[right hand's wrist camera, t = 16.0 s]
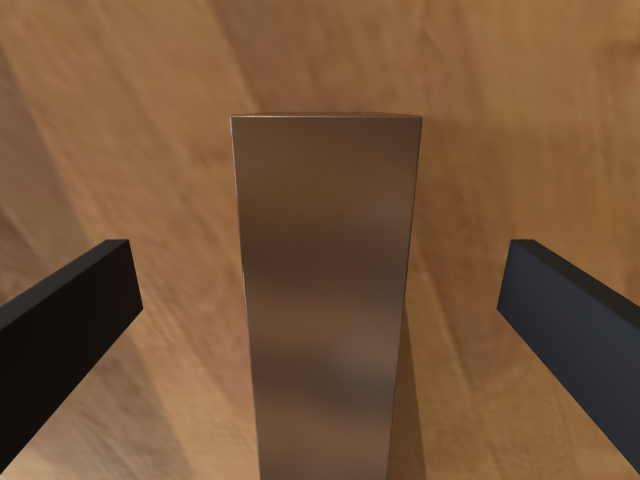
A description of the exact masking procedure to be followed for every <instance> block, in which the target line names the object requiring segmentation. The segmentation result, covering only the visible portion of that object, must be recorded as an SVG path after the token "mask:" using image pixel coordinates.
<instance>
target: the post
mask: <svg viewBox="0 0 640 480" xmlns="http://www.w3.org/2000/svg"><path fill="white" fill-rule="evenodd" d="M230 128H231V140H232V152H233V164H234V176H235V188H236V200H237V212H238V224H239V236H240V248H241V260H242V272H243V284H244V296H245V308H246V320H247V332H248V344H249V356H250V368H251V380H252V392H253V404H254V416H255V428H256V440H257V452H258V464H259V476H260V480H387V471H388V461H389V451H390V441H391V431H392V421H393V411H394V401H395V390H396V380H397V370H398V360H399V350H400V340H401V330H402V320H403V310H404V299H405V289H406V279H407V269H408V259H409V249H410V239H411V229H412V219H413V208H414V198H415V188H416V178H417V168H418V158H419V148H420V138H421V128H422V116H419V115H406V114H394V113H353V112H266V113H253V114H240V115H231V116H230Z"/></svg>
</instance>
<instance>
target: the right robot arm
mask: <svg viewBox="0 0 640 480" xmlns="http://www.w3.org/2000/svg"><path fill="white" fill-rule="evenodd" d="M142 310H143V305H142V300H141V295H140V290H139V286H138V281H137V276H136V271H135V267H134V262H133V257H132V252H131V248H130V243H129V240H105V241H103V242H102V243H100V244H99V245H97V246H95V247H94V248H92V249H91V250H89V251H88V252H86V253H84V254H83V255H81V256H80V257H78V258H77V259H75V260H73V261H72V262H70V263H69V264H67V265H66V266H64V267H62V268H61V269H59V270H58V271H56V272H55V273H53V274H51V275H50V276H48V277H47V278H45V279H44V280H42V281H40V282H39V283H37V284H36V285H34V286H33V287H31V288H29V289H28V290H26V291H25V292H23V293H21V294H20V295H18V296H17V297H15V298H14V299H12V300H10V301H9V302H7V303H6V304H4V305H3V306H1V307H0V474H1V473H2V472H3V471H4V470H5V469H6V467H7V466H8V465H9V464H10V463H11V462H12V461H13V459H14V458H15V457H16V456H17V455H18V454H19V452H20V451H21V450H22V449H23V448H24V447H25V445H26V444H27V443H28V442H29V441H30V440H31V439H32V437H33V436H34V435H35V434H36V433H37V432H38V430H39V429H40V428H41V427H42V426H43V425H44V423H45V422H46V421H47V420H48V419H49V418H50V416H51V415H52V414H53V413H54V412H55V411H56V410H57V408H58V407H59V406H60V405H61V404H62V403H63V401H64V400H65V399H66V398H67V397H68V396H69V394H70V393H71V392H72V391H73V390H74V389H75V387H76V386H77V385H78V384H79V383H80V382H81V381H82V379H83V378H84V377H85V376H86V375H87V374H88V372H89V371H90V370H91V369H92V368H93V367H94V365H95V364H96V363H97V362H98V361H99V360H100V358H101V357H102V356H103V355H104V354H105V353H106V352H107V350H108V349H109V348H110V347H111V346H112V345H113V343H114V342H115V341H116V340H117V339H118V338H119V336H120V335H121V334H122V333H123V332H124V331H125V329H126V328H127V327H128V326H129V325H130V324H131V323H132V321H133V320H134V319H135V318H136V317H137V316H138V314H139V313H140V312H141V311H142ZM497 310H498V311H499V312H500V313H501V314H502V316H503V317H504V318H505V319H506V320H507V321H508V323H509V324H510V325H511V326H512V327H513V328H514V329H515V331H516V332H517V333H518V334H519V335H520V336H521V338H522V339H523V340H524V341H525V342H526V343H527V345H528V346H529V347H530V348H531V349H532V350H533V352H534V353H535V354H536V355H537V356H538V357H539V358H540V360H541V361H542V362H543V363H544V364H545V365H546V367H547V368H548V369H549V370H550V371H551V372H552V374H553V375H554V376H555V377H556V378H557V379H558V381H559V382H560V383H561V384H562V385H563V386H564V387H565V389H566V390H567V391H568V392H569V393H570V394H571V396H572V397H573V398H574V399H575V400H576V401H577V403H578V404H579V405H580V406H581V407H582V408H583V410H584V411H585V412H586V413H587V414H588V415H589V416H590V418H591V419H592V420H593V421H594V422H595V423H596V425H597V426H598V427H599V428H600V429H601V430H602V432H603V433H604V434H605V435H606V436H607V437H608V439H609V440H610V441H611V442H612V443H613V444H614V445H615V447H616V448H617V449H618V450H619V451H620V452H621V454H622V455H623V456H624V457H625V458H626V459H627V461H628V462H629V463H630V464H631V465H632V466H633V467H634V469H635V470H636V471H637V472H638V473H639V474H640V307H639V306H637V305H636V304H634V303H633V302H631V301H630V300H628V299H626V298H625V297H623V296H622V295H620V294H619V293H617V292H615V291H614V290H612V289H611V288H609V287H607V286H606V285H604V284H603V283H601V282H600V281H598V280H596V279H595V278H593V277H592V276H590V275H589V274H587V273H585V272H584V271H582V270H581V269H579V268H578V267H576V266H574V265H573V264H571V263H570V262H568V261H567V260H565V259H563V258H562V257H560V256H559V255H557V254H556V253H554V252H552V251H551V250H549V249H548V248H546V247H545V246H543V245H541V244H540V243H538V242H537V241H535V240H511V243H510V248H509V252H508V257H507V262H506V267H505V271H504V276H503V281H502V286H501V290H500V295H499V300H498V305H497Z"/></svg>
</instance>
